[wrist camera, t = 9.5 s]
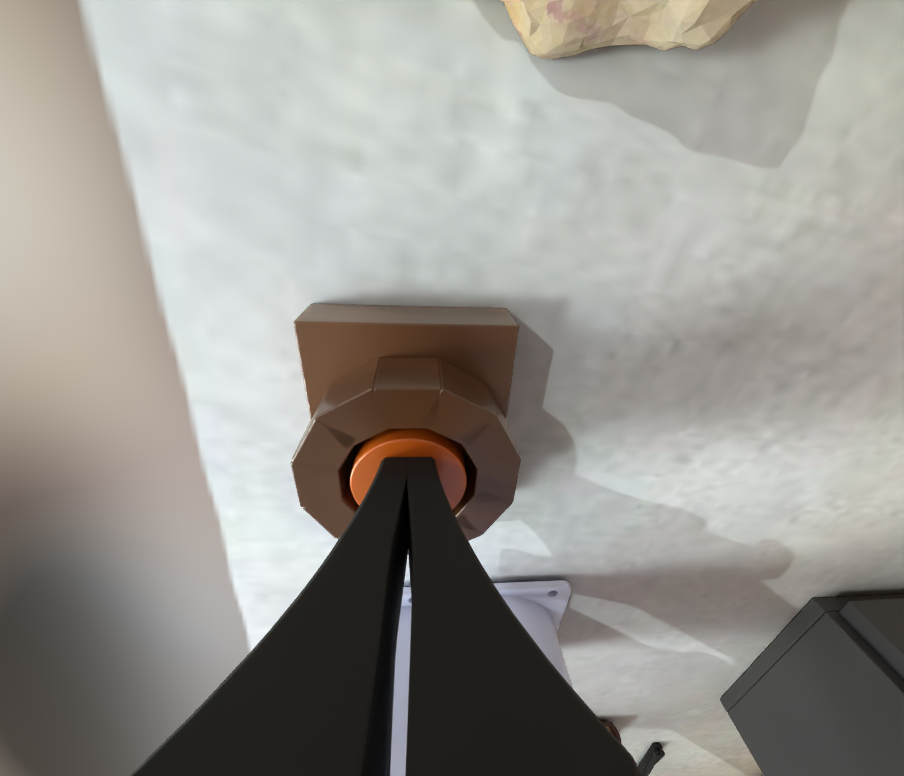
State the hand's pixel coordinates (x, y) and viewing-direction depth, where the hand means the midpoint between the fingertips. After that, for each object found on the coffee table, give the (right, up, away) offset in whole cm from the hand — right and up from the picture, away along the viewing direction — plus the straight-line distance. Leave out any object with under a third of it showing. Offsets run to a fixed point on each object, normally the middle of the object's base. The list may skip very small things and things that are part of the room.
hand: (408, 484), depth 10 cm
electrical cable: (+19, -35, +24) cm, 46 cm away
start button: (0, +1, +1) cm, 2 cm away
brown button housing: (0, +2, +3) cm, 3 cm away
